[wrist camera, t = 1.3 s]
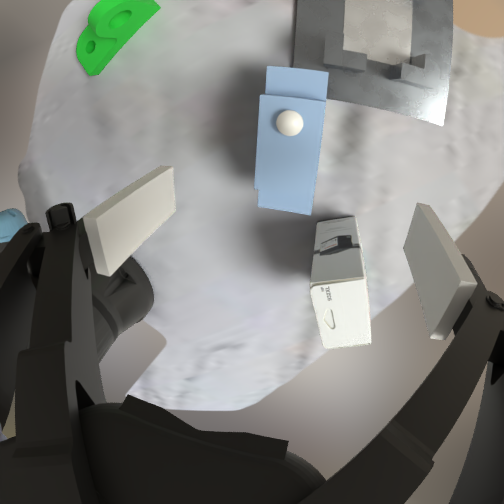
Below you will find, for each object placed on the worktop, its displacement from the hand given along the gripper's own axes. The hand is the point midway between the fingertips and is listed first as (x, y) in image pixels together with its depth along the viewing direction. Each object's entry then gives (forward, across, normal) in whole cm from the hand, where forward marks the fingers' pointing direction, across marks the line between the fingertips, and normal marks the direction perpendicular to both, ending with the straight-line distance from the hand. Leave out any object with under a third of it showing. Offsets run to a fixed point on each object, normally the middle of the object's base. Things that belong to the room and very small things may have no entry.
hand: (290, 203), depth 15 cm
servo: (+17, -1, +1) cm, 17 cm away
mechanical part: (+18, -24, +14) cm, 33 cm away
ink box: (+17, +6, -12) cm, 22 cm away
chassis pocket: (+17, +6, +15) cm, 23 cm away
